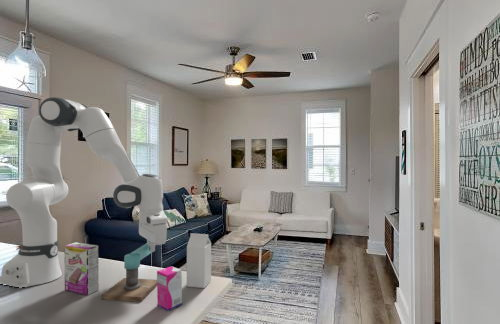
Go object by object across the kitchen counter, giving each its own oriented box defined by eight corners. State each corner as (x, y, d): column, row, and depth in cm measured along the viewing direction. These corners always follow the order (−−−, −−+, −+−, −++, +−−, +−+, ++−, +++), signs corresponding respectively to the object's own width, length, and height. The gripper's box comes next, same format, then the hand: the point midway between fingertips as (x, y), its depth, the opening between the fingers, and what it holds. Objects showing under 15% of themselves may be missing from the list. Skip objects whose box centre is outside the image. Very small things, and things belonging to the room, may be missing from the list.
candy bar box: (63, 291, 105) (63, 245, 105) (75, 285, 110) (75, 241, 110) (87, 296, 102) (87, 248, 102) (99, 290, 107) (99, 244, 106)
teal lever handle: (135, 269, 103) (135, 255, 103) (121, 268, 104) (121, 255, 104) (156, 254, 120) (156, 242, 119) (143, 253, 120) (143, 241, 120)
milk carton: (204, 288, 108) (204, 237, 108) (186, 286, 110) (186, 235, 110) (211, 280, 115) (211, 232, 115) (193, 279, 117) (194, 231, 117)
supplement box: (171, 299, 100) (171, 265, 100) (182, 304, 97) (182, 269, 96) (156, 305, 96) (156, 270, 96) (167, 311, 92) (167, 275, 92)
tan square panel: (101, 299, 100) (101, 273, 100) (123, 281, 114) (124, 259, 114) (141, 301, 98) (141, 275, 98) (159, 283, 112) (159, 260, 112)
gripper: (134, 212, 122) (134, 246, 122) (153, 221, 106) (153, 259, 106) (149, 211, 126) (150, 243, 126) (169, 218, 110) (170, 255, 110)
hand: (151, 250), depth 116 cm, fingers closed
